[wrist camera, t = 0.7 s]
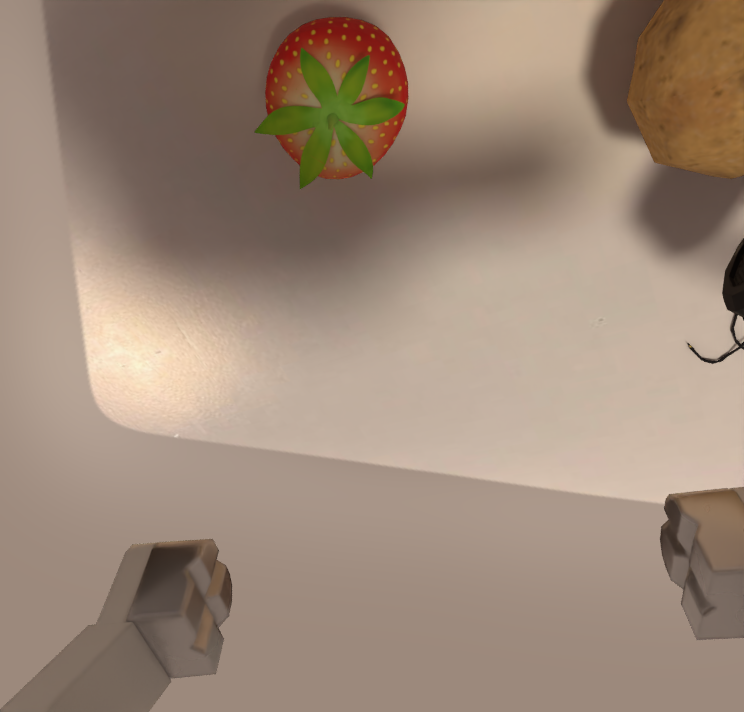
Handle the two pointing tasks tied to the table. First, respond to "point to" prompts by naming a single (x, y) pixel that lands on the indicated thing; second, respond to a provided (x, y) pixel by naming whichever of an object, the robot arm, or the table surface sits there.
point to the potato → (692, 86)
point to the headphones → (733, 293)
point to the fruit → (335, 97)
